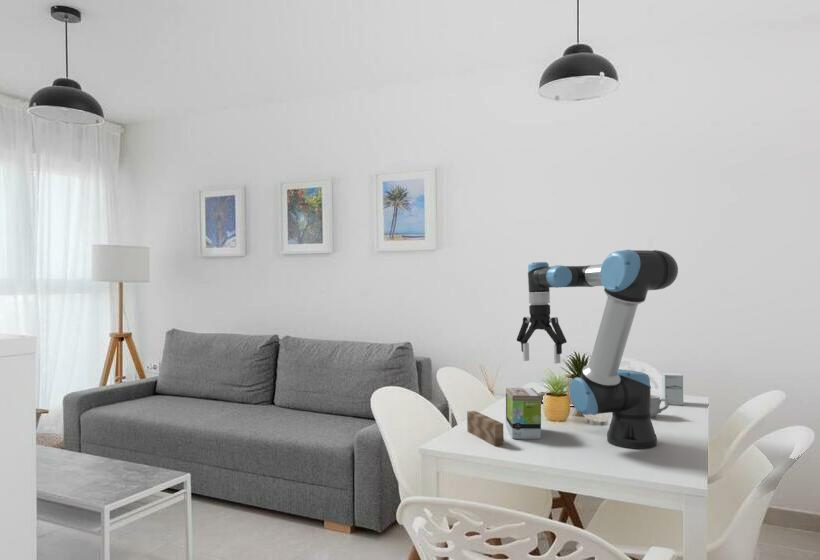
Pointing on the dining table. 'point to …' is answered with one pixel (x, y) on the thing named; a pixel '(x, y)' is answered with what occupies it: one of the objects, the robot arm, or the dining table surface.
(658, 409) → the teacup
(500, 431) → the walnut board
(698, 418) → the dining table surface
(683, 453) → the dining table surface
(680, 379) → the supplement box
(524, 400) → the tea box
